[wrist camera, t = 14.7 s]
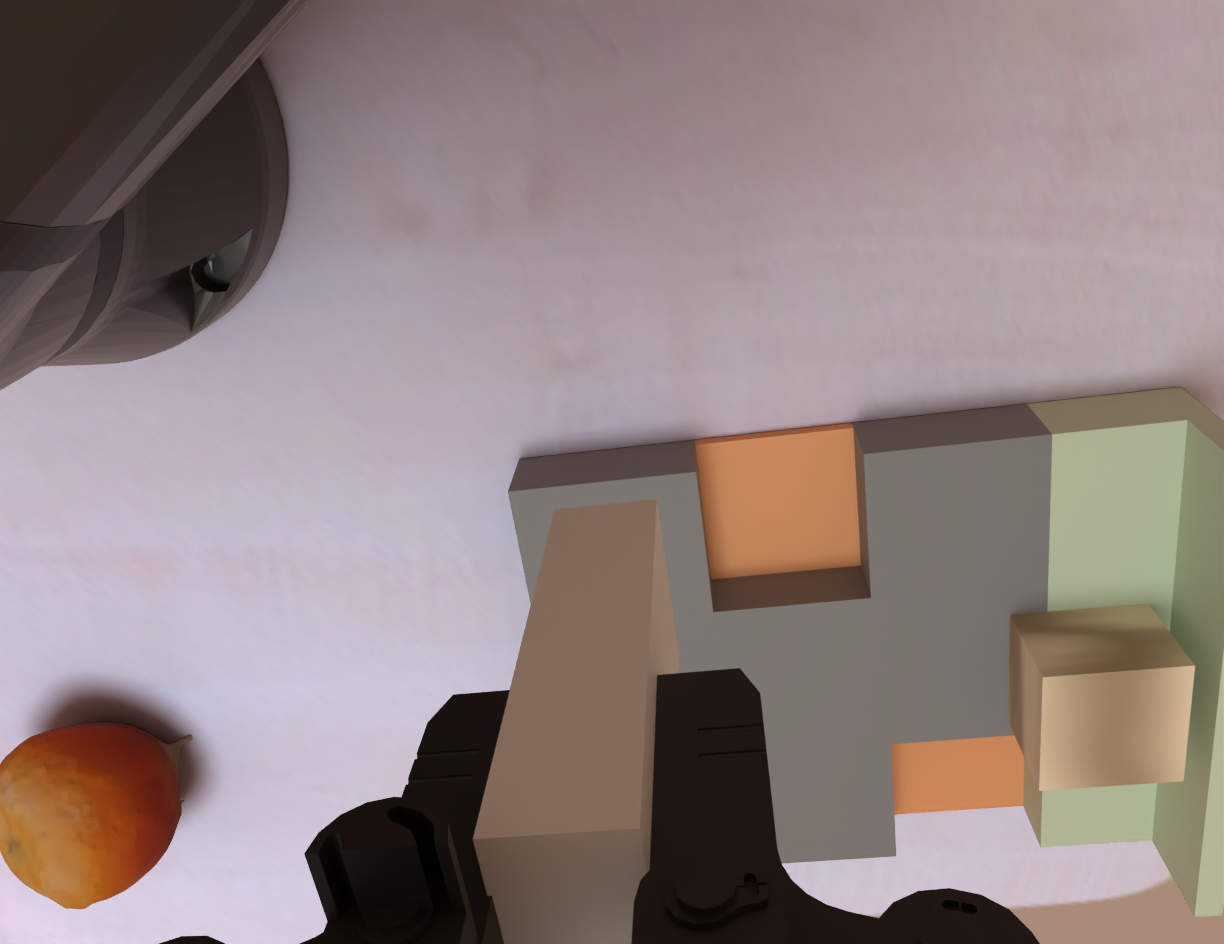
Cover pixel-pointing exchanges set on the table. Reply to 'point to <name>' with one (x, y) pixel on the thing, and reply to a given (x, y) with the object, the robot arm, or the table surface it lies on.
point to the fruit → (88, 809)
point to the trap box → (933, 601)
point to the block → (1099, 697)
